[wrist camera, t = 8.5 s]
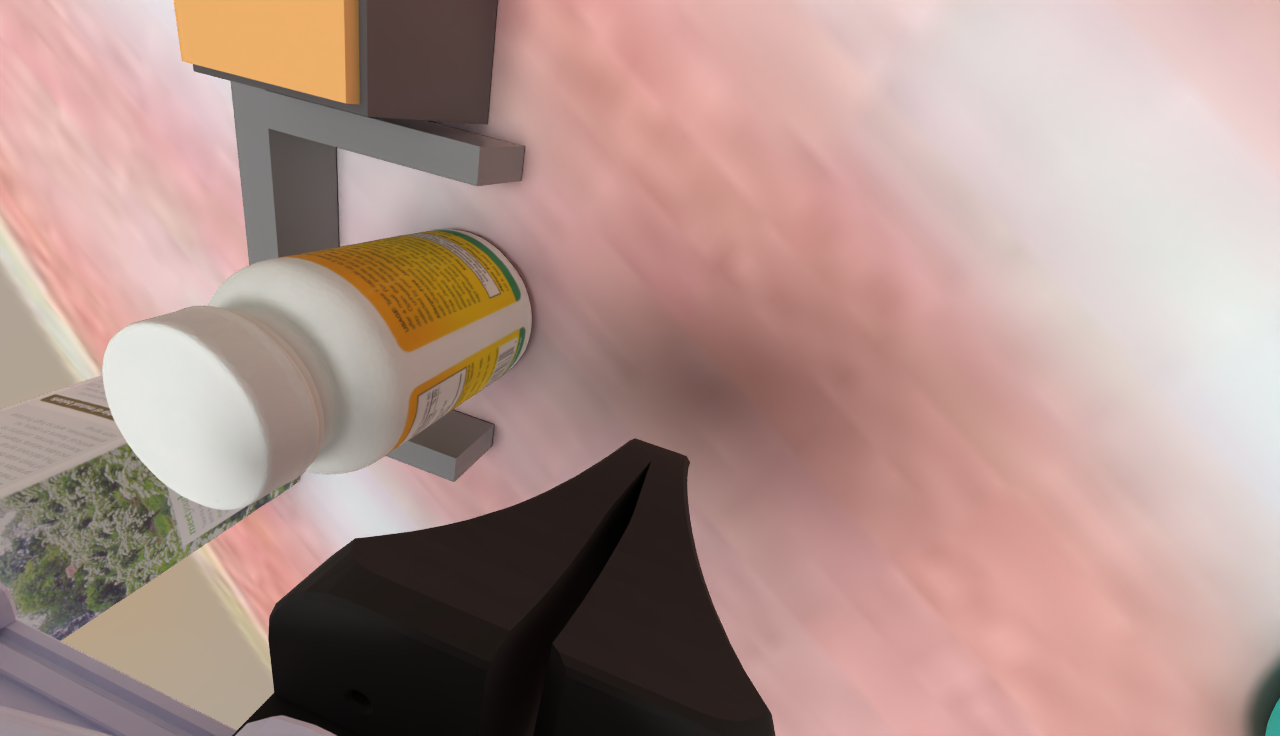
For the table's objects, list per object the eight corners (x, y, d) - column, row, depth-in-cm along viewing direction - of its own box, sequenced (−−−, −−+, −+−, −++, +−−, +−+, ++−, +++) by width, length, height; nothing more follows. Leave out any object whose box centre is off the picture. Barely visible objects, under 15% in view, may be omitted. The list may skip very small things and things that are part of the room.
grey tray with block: (486, 497, 22) (396, 594, 17) (321, 433, 24) (195, 507, 19) (555, -128, 14) (415, -277, 9) (290, -171, 15) (44, -319, 10)
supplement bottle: (545, 381, 19) (329, 562, 11) (416, 372, 21) (136, 525, 12) (526, 223, 17) (246, 288, 9) (386, 226, 19) (30, 285, 10)
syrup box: (178, 343, 24) (-556, 575, 11) (287, 373, 23) (-396, 671, 10) (205, 453, 26) (-376, 749, 13) (306, 485, 25) (-228, 845, 12)
